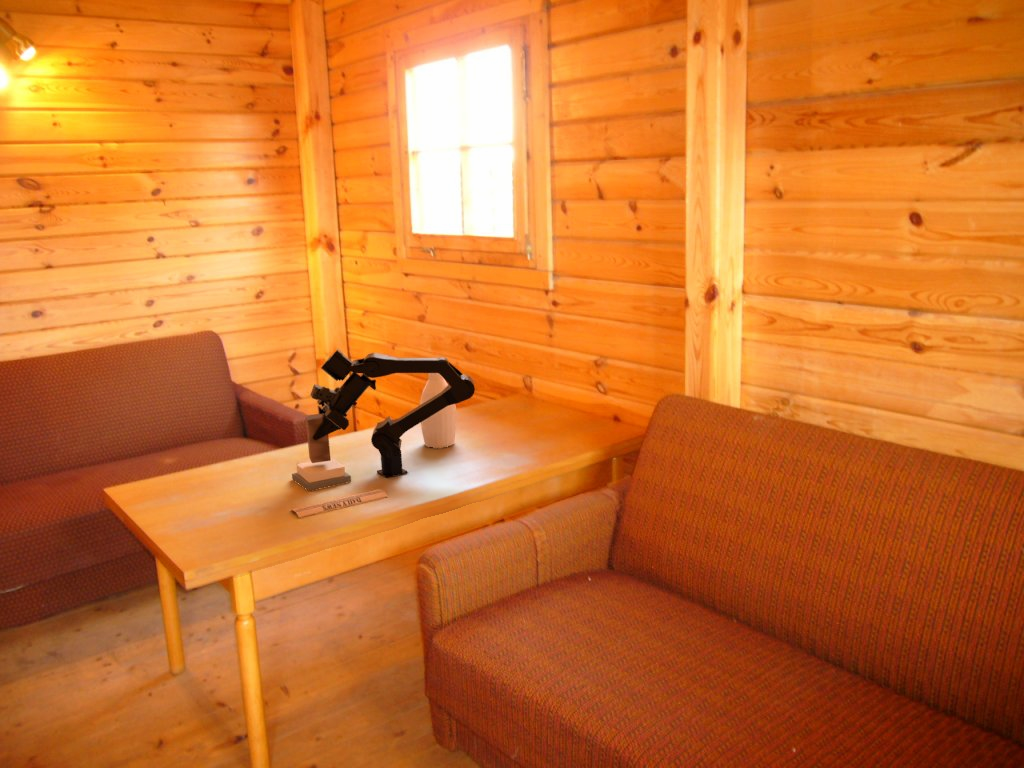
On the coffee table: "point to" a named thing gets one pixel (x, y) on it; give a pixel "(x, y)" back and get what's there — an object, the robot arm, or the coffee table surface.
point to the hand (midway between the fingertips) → (312, 436)
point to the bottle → (438, 416)
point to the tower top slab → (320, 470)
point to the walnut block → (319, 447)
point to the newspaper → (340, 503)
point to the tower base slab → (321, 483)
